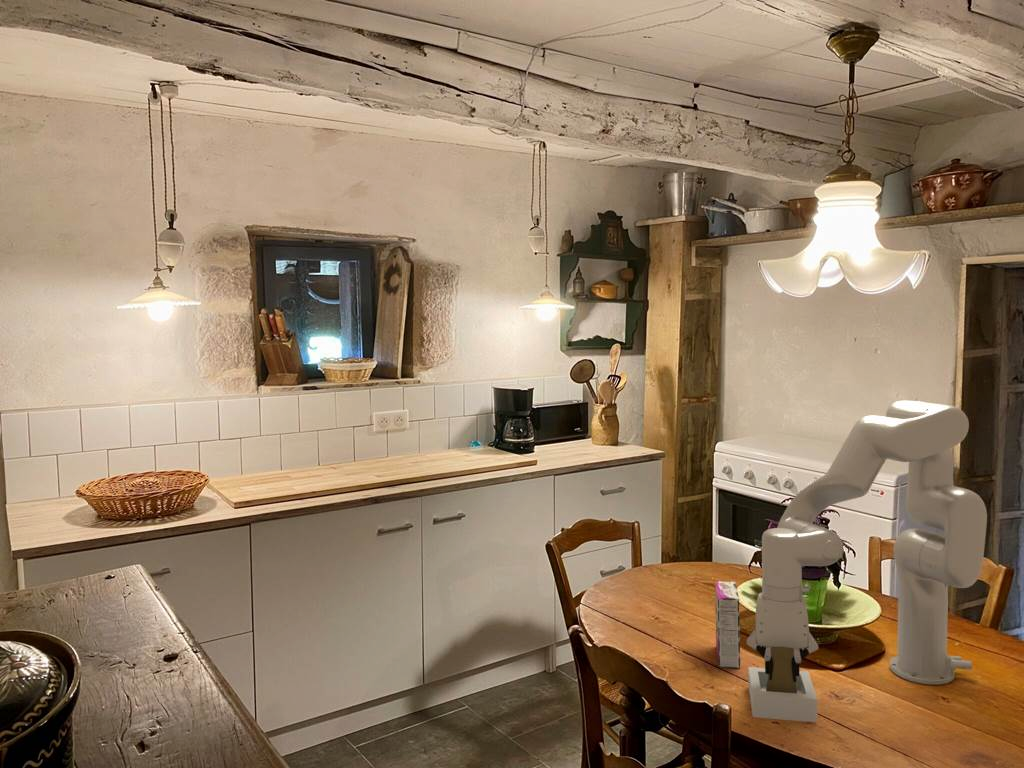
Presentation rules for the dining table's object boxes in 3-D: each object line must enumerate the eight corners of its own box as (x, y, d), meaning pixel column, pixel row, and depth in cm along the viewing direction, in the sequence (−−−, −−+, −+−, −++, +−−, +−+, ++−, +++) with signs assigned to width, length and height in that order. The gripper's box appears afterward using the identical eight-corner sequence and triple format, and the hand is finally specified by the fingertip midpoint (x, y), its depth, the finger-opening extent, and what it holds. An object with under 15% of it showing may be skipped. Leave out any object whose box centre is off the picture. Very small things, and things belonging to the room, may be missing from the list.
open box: (808, 694, 161) (808, 671, 161) (817, 723, 150) (817, 699, 149) (748, 689, 164) (748, 667, 164) (752, 718, 152) (752, 694, 152)
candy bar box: (714, 646, 184) (714, 580, 183) (736, 647, 183) (736, 581, 182) (717, 667, 174) (717, 597, 172) (740, 669, 173) (740, 598, 171)
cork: (772, 682, 161) (772, 632, 160) (801, 691, 157) (801, 639, 156) (761, 694, 156) (761, 642, 155) (791, 703, 152) (791, 649, 151)
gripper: (823, 586, 156) (823, 672, 158) (737, 582, 160) (738, 666, 162) (828, 599, 149) (828, 690, 151) (739, 595, 153) (740, 683, 155)
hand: (782, 677), depth 156 cm, fingers closed on cork, 3 cm apart
